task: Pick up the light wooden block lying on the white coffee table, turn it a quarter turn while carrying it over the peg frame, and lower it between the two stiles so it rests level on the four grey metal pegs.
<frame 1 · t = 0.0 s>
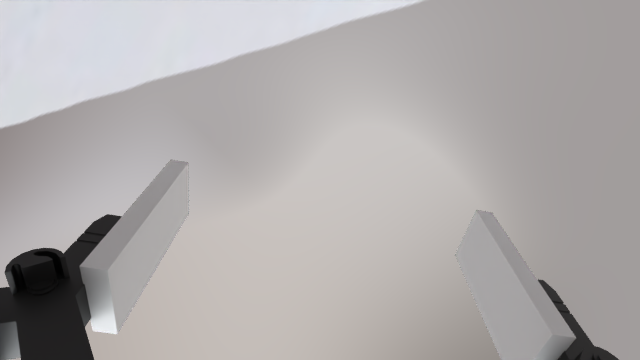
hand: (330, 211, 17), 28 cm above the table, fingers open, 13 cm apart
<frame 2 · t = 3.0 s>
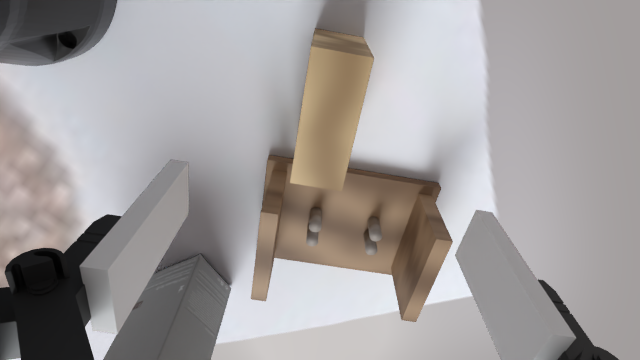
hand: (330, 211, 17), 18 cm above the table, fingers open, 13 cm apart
peg frame: (342, 218, 39), on the table
light wooden block: (328, 92, 32), on the table
skincare box: (191, 282, 44), on the table
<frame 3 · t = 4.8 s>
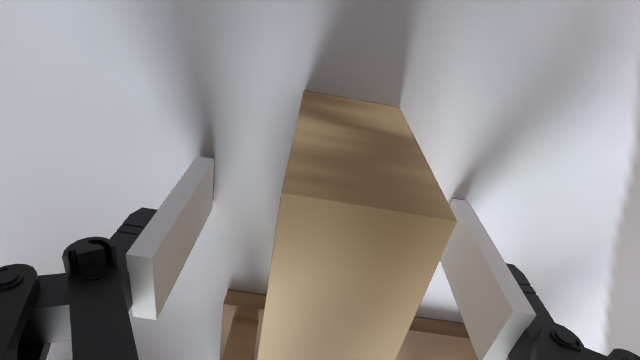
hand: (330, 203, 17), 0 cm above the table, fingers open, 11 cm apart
light wooden block: (329, 198, 18), on the table
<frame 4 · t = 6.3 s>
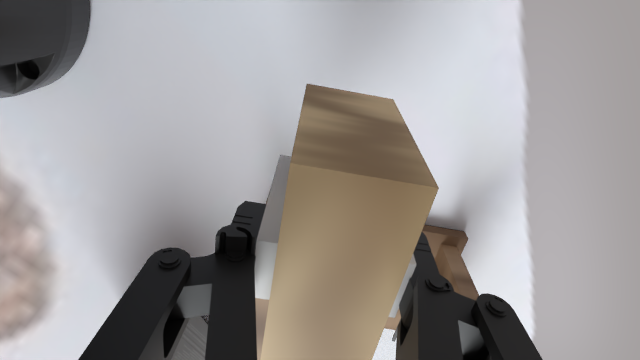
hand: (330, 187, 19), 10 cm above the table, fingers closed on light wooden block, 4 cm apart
peg frame: (352, 268, 34), on the table
light wooden block: (329, 185, 19), point 9 cm above the table, touching gripper
skincare box: (180, 333, 39), on the table
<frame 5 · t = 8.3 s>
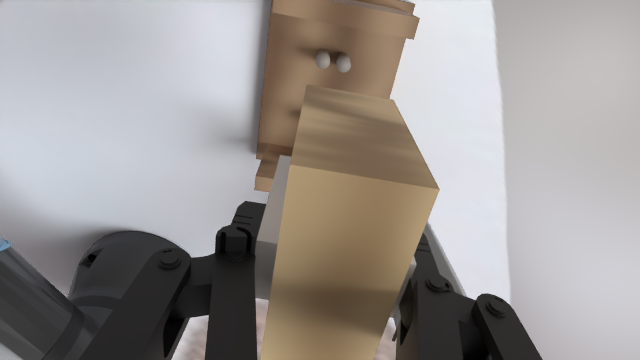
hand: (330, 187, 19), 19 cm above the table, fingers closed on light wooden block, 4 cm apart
peg frame: (327, 86, 35), on the table
light wooden block: (329, 186, 19), point 19 cm above the table, touching gripper
skincare box: (408, 234, 44), on the table
when the fingers open (5 cm above the table, at t = 10.4 s): light wooden block stays where it is, resting on peg frame.
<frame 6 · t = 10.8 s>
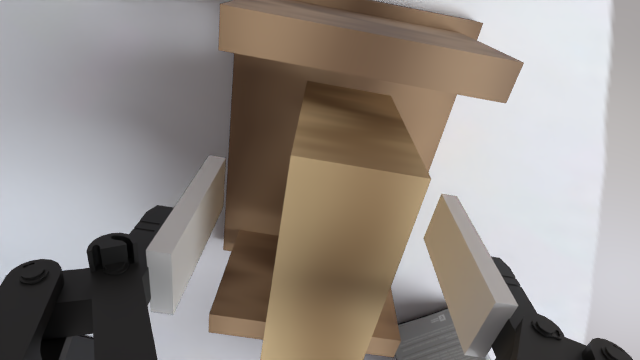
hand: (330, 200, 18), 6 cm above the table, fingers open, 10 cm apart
peg frame: (330, 149, 23), on the table
light wooden block: (329, 179, 20), point 3 cm above the table, touching peg frame
skincare box: (444, 339, 31), on the table
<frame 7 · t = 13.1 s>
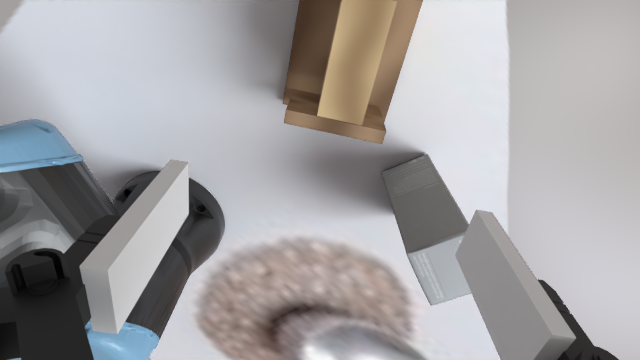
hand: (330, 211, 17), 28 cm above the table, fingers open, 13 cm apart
peg frame: (351, 37, 39), on the table
light wooden block: (351, 45, 36), point 3 cm above the table, touching peg frame
skincare box: (416, 185, 48), on the table
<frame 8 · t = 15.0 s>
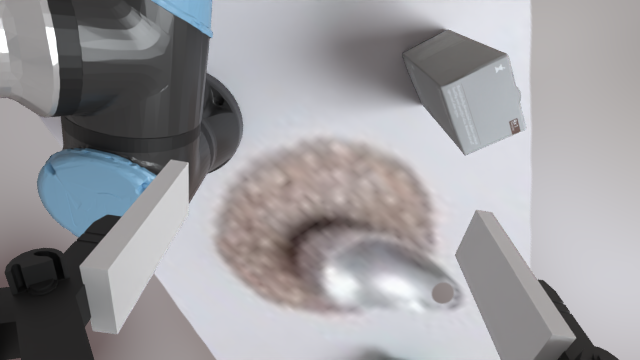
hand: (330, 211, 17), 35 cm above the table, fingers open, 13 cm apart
skincare box: (437, 69, 47), on the table
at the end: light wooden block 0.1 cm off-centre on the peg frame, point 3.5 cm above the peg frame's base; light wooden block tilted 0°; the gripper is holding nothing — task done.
